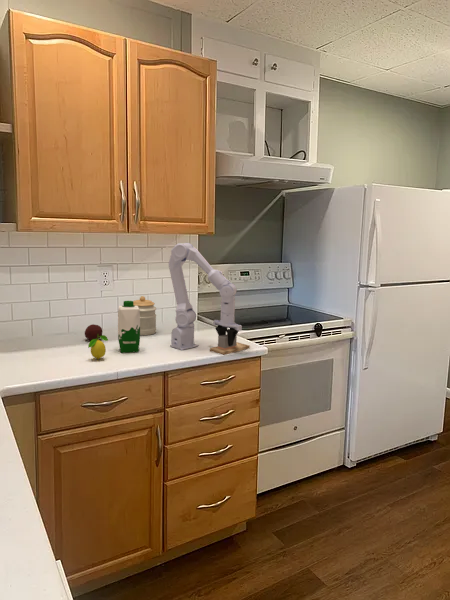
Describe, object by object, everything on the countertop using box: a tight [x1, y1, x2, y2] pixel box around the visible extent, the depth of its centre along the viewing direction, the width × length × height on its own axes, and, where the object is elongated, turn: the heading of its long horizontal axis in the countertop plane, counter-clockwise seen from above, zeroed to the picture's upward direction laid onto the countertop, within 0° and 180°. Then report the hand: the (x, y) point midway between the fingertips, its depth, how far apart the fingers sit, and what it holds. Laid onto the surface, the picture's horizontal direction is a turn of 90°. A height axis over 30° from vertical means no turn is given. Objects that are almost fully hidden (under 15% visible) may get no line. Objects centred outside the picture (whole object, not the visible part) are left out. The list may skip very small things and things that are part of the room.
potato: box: [84, 323, 103, 341], centre depth 207 cm, size 7×8×7 cm
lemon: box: [88, 334, 109, 360], centre depth 178 cm, size 7×6×10 cm
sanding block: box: [217, 333, 238, 350], centre depth 197 cm, size 7×4×5 cm, turn 137°
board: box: [209, 341, 251, 356], centre depth 198 cm, size 16×8×1 cm, turn 136°
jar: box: [132, 295, 157, 336], centre depth 222 cm, size 13×13×18 cm
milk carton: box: [117, 300, 141, 354], centre depth 191 cm, size 9×9×20 cm
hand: (226, 344), depth 196 cm, fingers closed on sanding block, 4 cm apart
